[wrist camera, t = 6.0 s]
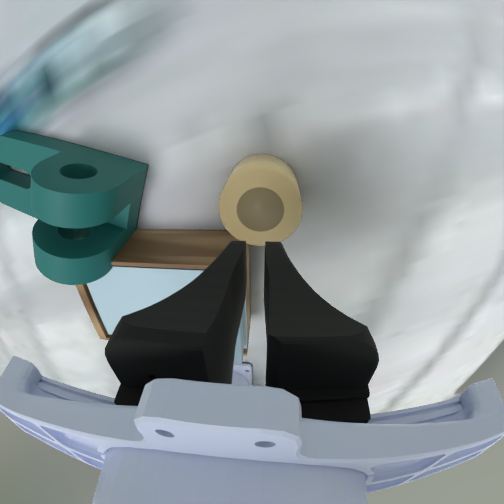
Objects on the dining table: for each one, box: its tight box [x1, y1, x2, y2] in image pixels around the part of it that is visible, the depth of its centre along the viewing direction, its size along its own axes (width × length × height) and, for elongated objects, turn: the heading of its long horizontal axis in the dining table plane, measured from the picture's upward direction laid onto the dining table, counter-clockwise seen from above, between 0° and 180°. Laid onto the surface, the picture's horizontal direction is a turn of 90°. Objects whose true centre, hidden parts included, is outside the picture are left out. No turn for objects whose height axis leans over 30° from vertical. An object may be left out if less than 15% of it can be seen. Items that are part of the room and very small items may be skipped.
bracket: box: [0, 130, 148, 285], centre depth 17 cm, size 18×7×8 cm, turn 70°
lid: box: [87, 265, 247, 364], centre depth 21 cm, size 8×13×3 cm, turn 91°
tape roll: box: [219, 154, 302, 246], centre depth 19 cm, size 5×5×4 cm
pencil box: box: [76, 230, 251, 355], centre depth 23 cm, size 9×14×5 cm, turn 91°
